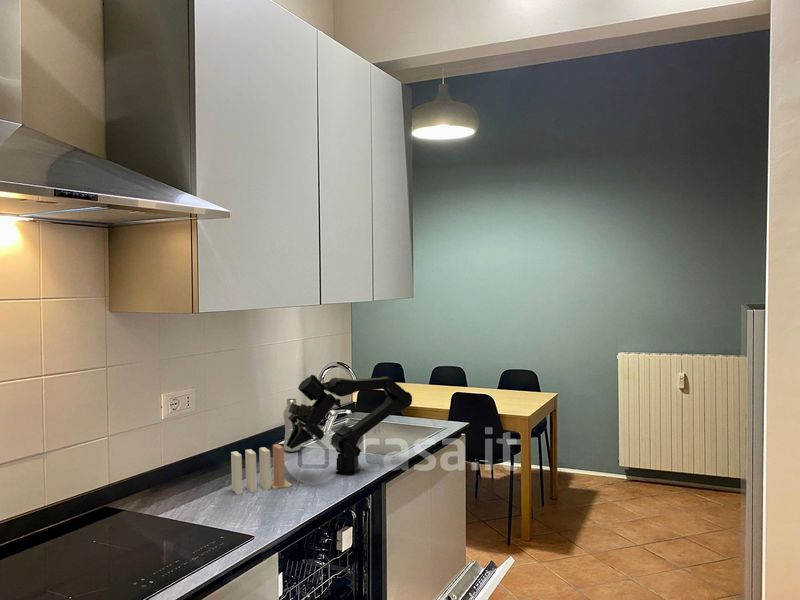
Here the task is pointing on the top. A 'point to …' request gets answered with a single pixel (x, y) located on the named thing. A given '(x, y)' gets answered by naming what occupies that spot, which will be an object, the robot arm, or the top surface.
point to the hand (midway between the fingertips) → (288, 447)
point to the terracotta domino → (278, 464)
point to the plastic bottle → (289, 426)
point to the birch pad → (280, 486)
